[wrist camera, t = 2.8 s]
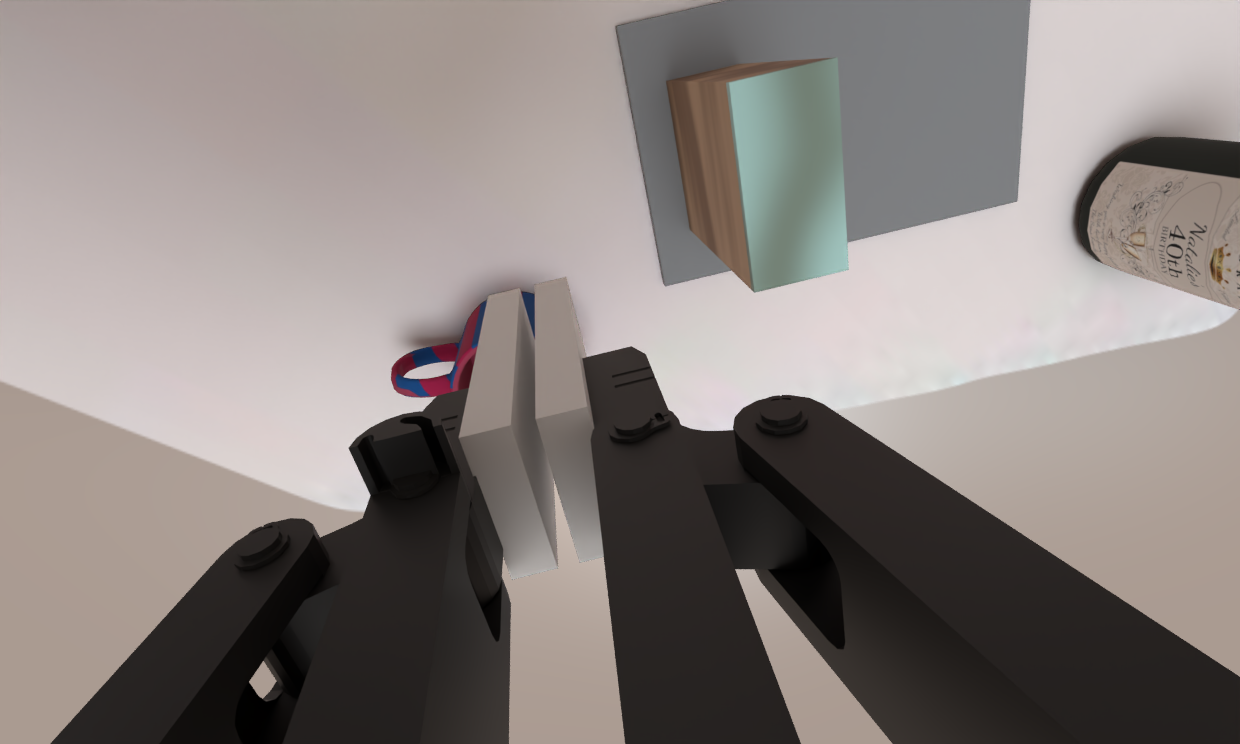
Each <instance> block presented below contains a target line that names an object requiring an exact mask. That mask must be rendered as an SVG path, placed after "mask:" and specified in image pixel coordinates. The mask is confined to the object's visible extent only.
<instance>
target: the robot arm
mask: <svg viewBox="0 0 1240 744" xmlns="http://www.w3.org/2000/svg"><path fill="white" fill-rule="evenodd" d="M733 429H734V430H729V431H701V430H695V429H690V428H687V427H685V426H682V425H680V422H679V419H678V418H677V417H676V416H675V415H674V413H673V412H672V411H669V410H668V408H667V405H666V403H665V401H664V398H663V396H662V393H661V391H660V388H659V386H658V383H657V381H656V378H655V376H654V373H653V371H652V369H651V366H650V364H649V361H648V359H647V356H646V354H644V353H642V352H641V351H639V350H637V349H635V348H633V347H627V348H623V349H619V350H615V351H611V352H606V353H602V354H598V355H594V356H590V357H586V353H585V349H584V345H583V341H582V337H581V334H580V330H579V326H578V322H577V318H576V314H575V310H574V306H573V302H572V298H571V294H570V290H569V287H568V283H567V279H566V277H564V278H560V279H556V280H551V281H547V282H543V283H539V284H535V339H534V336H533V332H532V329H531V325H530V322H529V318H528V315H527V312H526V308H525V305H524V301H523V298H522V294H521V291H520V288H518V289H514V290H510V291H506V292H501V293H497V294H493V295H489V296H488V299H487V304H486V309H485V313H484V318H483V323H482V328H481V333H480V337H479V342H478V347H477V352H476V357H475V362H474V366H473V371H472V376H471V381H470V386H469V388H467V389H462V390H458V391H454V392H450V393H446V394H442V395H438V396H437V397H436V398H435V399H434V400H433V401H432V402H431V403H430V404H429V405H428V406H427V407H426V408H425V409H424V410H423V412H413V413H407V414H402V415H399V416H396V417H393V418H390V419H387V420H385V421H383V422H381V423H379V424H377V425H375V426H373V427H371V428H369V429H368V430H367V431H365V432H364V433H363V434H361V435H360V436H359V437H357V438H356V439H355V441H354V442H353V443H352V445H351V446H350V447H349V450H350V452H351V454H352V456H353V459H354V461H355V463H356V465H357V467H358V469H359V471H360V473H361V476H362V478H363V480H364V482H365V484H366V486H367V488H368V491H369V493H370V495H371V496H370V499H369V502H368V505H367V508H366V510H365V513H364V516H363V518H362V519H360V520H358V521H356V522H354V523H353V524H350V525H348V526H346V527H344V528H341V529H339V530H336V531H334V532H332V533H330V534H327V535H325V536H323V537H321V538H320V537H319V535H318V533H317V531H316V530H315V528H314V526H313V524H312V523H310V522H309V521H307V520H305V519H293V518H290V519H286V520H281V521H278V522H271V523H268V524H266V525H264V527H259V528H256V529H255V530H252V531H251V532H250V533H249V534H248V535H246V536H245V537H243V538H242V539H240V540H238V541H237V542H235V544H233V545H232V546H231V547H230V548H229V549H228V550H226V551H225V552H224V553H223V554H222V555H221V556H220V557H219V558H218V560H216V561H215V563H214V564H213V565H212V566H211V567H210V568H209V569H208V570H207V571H206V573H205V574H204V575H203V576H202V577H201V578H200V579H199V580H198V581H197V582H196V584H195V585H194V586H193V587H192V588H191V589H190V590H189V591H188V592H187V593H186V595H185V596H184V597H183V598H182V599H181V600H180V601H179V602H178V603H177V605H176V606H175V607H174V608H173V609H172V610H171V611H170V612H169V613H168V615H167V616H166V617H165V618H164V619H163V620H162V621H161V622H160V623H159V624H158V625H157V627H156V628H155V629H154V630H153V631H152V632H151V634H149V635H148V637H147V638H146V639H145V640H144V641H143V642H142V643H141V644H140V646H138V648H137V649H136V650H135V651H134V652H133V653H132V654H131V655H130V656H129V658H128V659H127V660H126V661H125V662H124V663H123V664H122V665H121V667H119V669H118V670H117V671H116V672H115V673H114V674H113V675H112V676H111V677H110V679H109V680H108V681H107V682H106V683H105V684H104V685H103V686H102V687H101V688H100V690H99V691H98V692H97V693H96V694H95V695H94V696H93V697H92V698H91V699H90V701H89V702H88V703H87V704H86V705H85V706H84V707H83V708H82V710H80V712H79V713H78V714H77V715H76V716H75V717H74V718H73V719H72V721H71V722H70V723H69V724H68V725H67V726H66V727H65V728H64V729H63V730H62V731H61V733H60V734H59V735H58V736H57V737H56V738H55V739H54V740H53V741H52V743H51V744H509V685H510V683H509V682H510V618H511V614H510V613H511V603H510V599H509V595H508V592H507V589H506V587H505V584H504V582H503V579H502V562H503V557H504V560H505V563H506V565H507V568H508V571H509V573H510V576H511V578H512V580H513V579H517V578H521V577H525V576H529V575H533V574H537V573H541V572H545V571H549V570H553V569H557V568H558V559H557V541H556V540H557V539H556V519H555V500H554V481H555V484H556V487H557V490H558V494H559V497H560V500H561V503H562V507H563V510H564V513H565V516H566V520H567V523H568V526H569V529H570V532H571V536H572V539H573V542H574V545H575V549H576V552H577V555H578V558H579V562H580V563H581V562H585V561H589V560H593V559H597V558H601V557H604V562H605V570H606V579H607V588H608V597H609V606H610V615H611V623H612V632H613V641H614V648H615V658H616V667H617V675H618V684H619V693H620V701H621V710H622V719H623V728H624V736H625V744H801V743H800V740H799V738H798V735H797V732H796V730H795V727H794V724H793V722H792V719H791V716H790V714H789V711H788V709H787V706H786V703H785V700H784V698H783V695H782V693H781V690H780V687H779V685H778V682H777V679H776V677H775V674H774V672H773V669H772V666H771V663H770V661H769V658H768V656H767V653H766V650H765V648H764V645H763V642H762V640H761V637H760V634H759V632H758V629H757V626H756V624H755V621H754V618H753V616H752V613H751V611H750V608H749V605H748V602H747V600H746V597H745V594H744V592H743V589H742V587H741V584H740V581H739V579H738V576H737V573H736V571H735V569H755V571H756V573H757V575H758V577H759V579H760V581H761V583H762V584H763V585H764V586H765V587H766V589H767V590H768V591H769V592H770V594H771V595H772V596H773V597H774V599H775V600H776V601H777V602H778V603H779V605H780V606H781V607H782V608H783V609H784V611H785V612H786V613H787V614H788V616H789V617H790V618H791V619H792V621H793V622H794V623H795V624H796V625H797V627H798V628H799V629H800V630H801V632H802V633H803V634H804V635H805V637H806V638H807V639H808V640H809V642H810V643H811V644H812V645H813V646H814V648H815V649H816V650H817V651H818V653H820V655H821V656H822V657H823V659H824V660H825V661H826V662H827V663H828V665H829V666H830V667H831V669H832V670H833V671H834V672H835V673H836V675H837V676H838V677H839V678H840V680H841V681H842V682H843V683H844V684H845V685H846V687H847V688H848V689H849V691H850V692H851V693H852V694H853V696H854V697H855V698H856V699H857V700H858V702H859V703H860V704H861V705H862V706H863V708H864V709H865V710H866V711H867V713H868V714H869V715H870V716H871V718H872V719H873V720H874V721H875V723H877V725H878V726H879V727H880V729H881V730H882V731H883V732H884V733H885V735H886V736H887V737H888V738H889V740H890V741H891V742H892V743H893V744H1240V677H1239V676H1238V675H1236V674H1235V673H1233V672H1232V671H1230V670H1229V669H1227V668H1225V667H1224V666H1222V665H1221V664H1219V663H1218V662H1216V661H1215V660H1213V659H1212V658H1210V657H1209V656H1207V655H1206V654H1204V653H1202V652H1201V651H1200V650H1198V649H1197V648H1195V647H1193V646H1192V645H1190V644H1189V643H1187V642H1186V641H1184V640H1183V639H1181V638H1180V637H1178V636H1177V635H1175V634H1174V633H1172V632H1171V631H1169V630H1167V629H1166V628H1165V627H1163V626H1161V625H1160V624H1158V623H1157V622H1155V621H1154V620H1152V619H1150V618H1149V617H1147V616H1146V615H1145V614H1143V613H1142V612H1140V611H1139V610H1137V609H1135V608H1134V607H1132V606H1131V605H1129V604H1128V603H1126V602H1125V601H1123V600H1122V599H1120V598H1119V597H1117V596H1116V595H1114V594H1112V593H1111V592H1110V591H1108V590H1106V589H1105V588H1103V587H1102V586H1100V585H1099V584H1097V583H1096V582H1094V581H1093V580H1091V579H1090V578H1088V577H1087V576H1085V575H1084V574H1082V573H1080V572H1079V571H1077V570H1076V569H1074V568H1073V567H1071V566H1070V565H1068V564H1067V563H1065V562H1064V561H1062V560H1061V559H1059V558H1057V557H1056V556H1054V555H1053V554H1051V553H1050V552H1048V551H1047V550H1045V549H1044V548H1042V547H1041V546H1039V545H1038V544H1036V543H1034V542H1033V541H1032V540H1030V539H1028V538H1027V537H1025V536H1024V535H1022V534H1021V533H1019V532H1018V531H1016V530H1015V529H1013V528H1012V527H1010V526H1009V525H1007V524H1006V523H1004V522H1002V521H1001V520H1000V519H998V518H996V517H995V516H993V515H992V514H990V513H989V512H987V511H986V510H984V509H983V508H981V507H979V506H978V505H977V504H975V503H974V502H972V501H970V500H969V499H967V498H966V497H964V496H963V495H961V494H960V493H958V492H957V491H955V490H954V489H952V488H951V487H949V486H948V485H946V484H944V483H943V482H941V481H940V480H938V479H937V478H935V477H934V476H932V475H931V474H929V473H928V472H926V471H925V470H923V469H921V468H920V467H918V466H917V465H915V464H914V463H912V462H911V461H909V460H908V459H906V458H905V457H903V456H902V455H900V454H899V453H897V452H896V451H894V450H892V449H891V448H890V447H888V446H886V445H885V444H883V443H882V442H880V441H879V440H877V439H875V438H874V437H873V436H871V435H870V434H868V433H867V432H865V431H863V430H862V429H860V428H859V427H857V426H856V425H854V424H853V423H851V422H850V421H848V420H847V419H845V418H844V417H842V416H841V415H839V414H838V413H836V412H835V411H833V410H831V409H830V408H828V407H827V406H825V405H824V404H822V403H820V402H817V401H815V400H813V399H810V398H806V397H799V396H792V395H782V396H780V395H779V396H772V397H769V398H766V399H762V400H758V401H756V402H754V403H752V404H750V405H748V406H746V407H744V408H743V409H742V410H741V411H740V412H739V413H738V414H737V415H736V417H735V419H734V426H733ZM553 478H554V479H553ZM263 661H264V662H265V663H266V665H267V667H268V668H269V670H270V671H271V673H272V674H273V675H274V677H275V679H276V680H277V682H276V683H275V685H274V687H273V688H272V690H271V691H270V692H269V693H268V694H267V695H266V696H265V697H264V698H263V699H262V698H260V697H259V696H258V695H257V693H256V692H255V690H254V689H253V687H252V686H251V684H250V683H249V681H250V679H251V678H252V676H253V675H254V673H255V672H256V671H257V669H258V668H259V666H260V665H261V663H262V662H263Z"/></svg>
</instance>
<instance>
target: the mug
mask: <svg viewBox="0 0 1240 744" xmlns="http://www.w3.org/2000/svg"><path fill="white" fill-rule="evenodd" d="M521 294H522V298H523V301H524V305H525V308H526V312H527V315H528V318H529V322H530V325H531V329H532V332H533V336H534V339H535V294H531V293H527V292H521ZM486 304H487V300H486V301H485V302H483V303H482V304H480V305H479V306H478V307H477V308H476V309H475V310H474V311H473V313H472V314H471V316H470V317H469V319H468V321H467V323H466V325H465V328H464V332H463V335H462V338H461V340H460V342H459V343H450V344H444V345H437V346H431V347H426V348H422V349H419V350H415V351H413V352H410V353H408V354H406V355H404V356H403V357H401V358H400V359H399V360H397V361H396V363H395V364H394V365H393V367H392V372H391V381H392V384H393V387H394V389H395V390H396V391H397V392H398V393H400V394H402V395H405V396H409V397H420V398H422V397H435V396H438V395H442V394H446V393H450V392H454V391H458V390H462V389H467V388H469V386H470V381H471V376H472V371H473V366H474V362H475V357H476V352H477V347H478V342H479V337H480V333H481V328H482V323H483V318H484V313H485V309H486ZM449 361H455V364H454V367H453V369H452V371H451V373H450V374H446V375H442V376H439V377H434V378H428V379H409V378H404V377H403V376H404V375H405V374H406V373H407V372H409V371H410V370H412V369H415V368H417V367H420V366H423V365H427V364H432V363H438V362H449Z"/></svg>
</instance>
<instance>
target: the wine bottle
mask: <svg viewBox="0 0 1240 744" xmlns="http://www.w3.org/2000/svg"><path fill="white" fill-rule="evenodd" d="M1079 229H1080V234H1081V238H1082V243H1083V245H1084V247H1085V248H1086V249H1087V250H1088V251H1089V253H1090V254H1091V255H1092V256H1093V257H1094V259H1095V260H1097V261H1099V262H1101V263H1104V264H1106V265H1108V266H1111V267H1113V268H1116V269H1118V270H1121V271H1124V272H1127V273H1130V274H1132V275H1136V276H1139V277H1142V278H1145V279H1148V280H1151V281H1154V282H1157V283H1160V284H1163V285H1166V286H1169V287H1172V288H1175V289H1178V290H1181V291H1184V292H1187V293H1190V294H1193V295H1196V296H1199V297H1202V298H1205V299H1209V300H1212V301H1215V302H1218V303H1221V304H1224V305H1227V306H1230V307H1233V308H1236V309H1239V310H1240V142H1231V141H1220V140H1210V139H1198V138H1186V137H1155V138H1151V139H1149V140H1146V141H1144V142H1141V143H1138V144H1136V145H1133V146H1131V147H1129V148H1127V149H1126V150H1124V151H1123V152H1122V153H1120V154H1119V155H1118V156H1116V157H1115V158H1114V159H1112V160H1111V161H1110V162H1108V163H1107V164H1106V165H1105V166H1104V168H1103V169H1102V170H1101V172H1100V173H1099V174H1098V175H1097V177H1096V178H1095V179H1094V180H1093V182H1092V183H1091V185H1090V187H1089V189H1088V191H1087V193H1086V196H1085V198H1084V200H1083V202H1082V204H1081V212H1080V219H1079Z"/></svg>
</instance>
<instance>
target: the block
mask: <svg viewBox="0 0 1240 744" xmlns="http://www.w3.org/2000/svg"><path fill="white" fill-rule="evenodd" d="M666 85H667V91H668V97H669V103H670V110H671V116H672V122H673V128H674V134H675V141H676V147H677V153H678V159H679V166H680V172H681V178H682V184H683V190H684V197H685V203H686V209H687V215H688V221H689V228H690V230H691V231H692V232H693V233H694V234H695V235H696V236H697V237H698V238H699V239H700V240H701V241H702V242H703V243H704V244H705V245H706V246H707V247H708V248H709V249H710V250H711V251H712V252H713V253H714V254H715V255H716V256H717V257H718V258H719V259H720V260H722V261H723V262H724V263H725V264H726V265H727V266H728V267H729V268H730V269H731V270H732V271H733V272H734V273H735V274H736V275H737V276H738V277H739V278H740V279H741V280H742V281H743V282H744V283H745V284H746V285H747V286H748V287H749V288H750V289H751V290H752V291H753V292H754V293H755V292H759V291H763V290H767V289H771V288H775V287H780V286H784V285H788V284H792V283H796V282H800V281H804V280H808V279H813V278H817V277H821V276H825V275H829V274H833V273H837V272H841V271H846V270H849V268H848V248H847V229H846V210H845V191H844V172H843V153H842V134H841V115H840V96H839V76H838V57H834V58H819V59H804V60H790V61H775V62H760V63H745V64H737V65H733V66H728V67H724V68H720V69H715V70H711V71H707V72H703V73H698V74H694V75H690V76H685V77H681V78H677V79H673V80H668V81H666Z"/></svg>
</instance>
